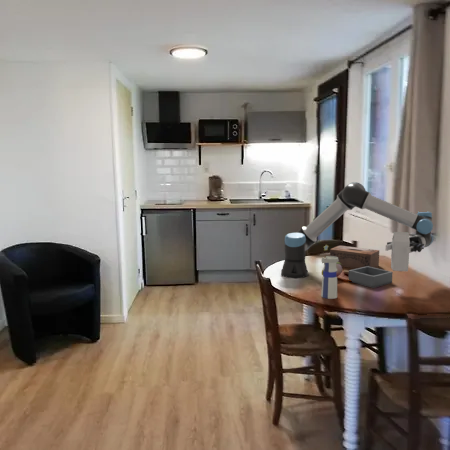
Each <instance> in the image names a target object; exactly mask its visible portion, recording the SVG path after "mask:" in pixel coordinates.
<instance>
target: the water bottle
mask: <svg viewBox="0 0 450 450" xmlns="http://www.w3.org/2000/svg"><path fill="white" fill-rule="evenodd" d="M329 247H330V246H329V245H328V244H325V246H323V248H324V249H323V251H328V248H329ZM338 261H339V259H338V257H335V256H330V255H326V256H325V257H321V264H323V267H322V269H321V275H322V278H321V291H320V296H321V298H323V299H329V300H333V299H337V298H338V277H336V271H337V268H336V263H337V262H338Z"/></svg>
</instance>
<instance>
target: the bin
mask: <svg viewBox="0 0 450 450" xmlns="http://www.w3.org/2000/svg"><path fill="white" fill-rule="evenodd" d="M393 272H394V271H389V270H385V269H382V268H378V267H376V268H373V267H369V266H366V267H362V268H352V269H349V270H348V279H349V280H351V281H352V282H351V283H353V284H358V285H361V286H365V287H368V288H372V289H374V288H378V287H382V286H385V285H389V284H392V283H393V275H394V274H393ZM348 279H347V280H348Z"/></svg>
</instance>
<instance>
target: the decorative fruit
mask: <svg viewBox="0 0 450 450" xmlns="http://www.w3.org/2000/svg"><path fill="white" fill-rule="evenodd" d="M340 264H341V263H339V262H337V263H336V268H337V271H336V277H337V278H338V277H339V276H340V275H341V274H342V273H343V266H341V265H340Z"/></svg>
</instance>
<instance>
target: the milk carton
mask: <svg viewBox="0 0 450 450" xmlns="http://www.w3.org/2000/svg"><path fill="white" fill-rule="evenodd" d="M409 237H410V232H407V231H406V232H405V231H393V234H392V238H391V239H392V240H391V242H392V250H391V253H390V254H391V255H390V257H391V258H390V260H391V261H390V268H391V269H392V272H409V259H410V253H408V254H406V248H408V247H409V246H410V240H409Z"/></svg>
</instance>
